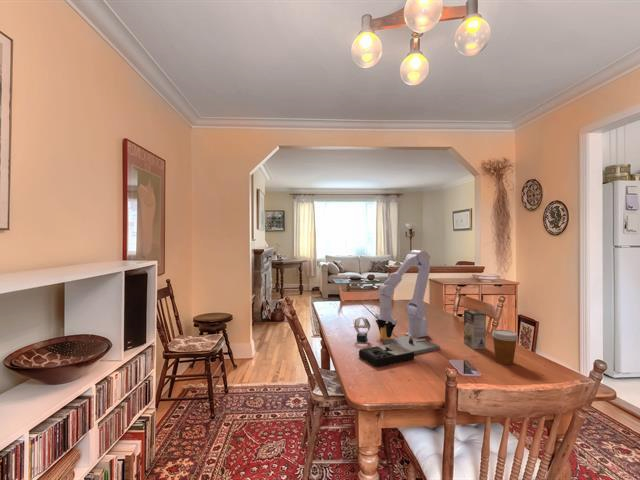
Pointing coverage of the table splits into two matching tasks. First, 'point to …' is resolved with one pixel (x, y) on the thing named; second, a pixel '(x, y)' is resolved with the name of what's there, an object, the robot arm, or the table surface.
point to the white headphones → (358, 324)
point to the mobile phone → (465, 368)
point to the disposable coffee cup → (504, 345)
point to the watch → (362, 335)
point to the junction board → (416, 347)
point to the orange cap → (384, 334)
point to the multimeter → (386, 355)
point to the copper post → (411, 339)
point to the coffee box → (474, 329)
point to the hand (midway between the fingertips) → (385, 335)
